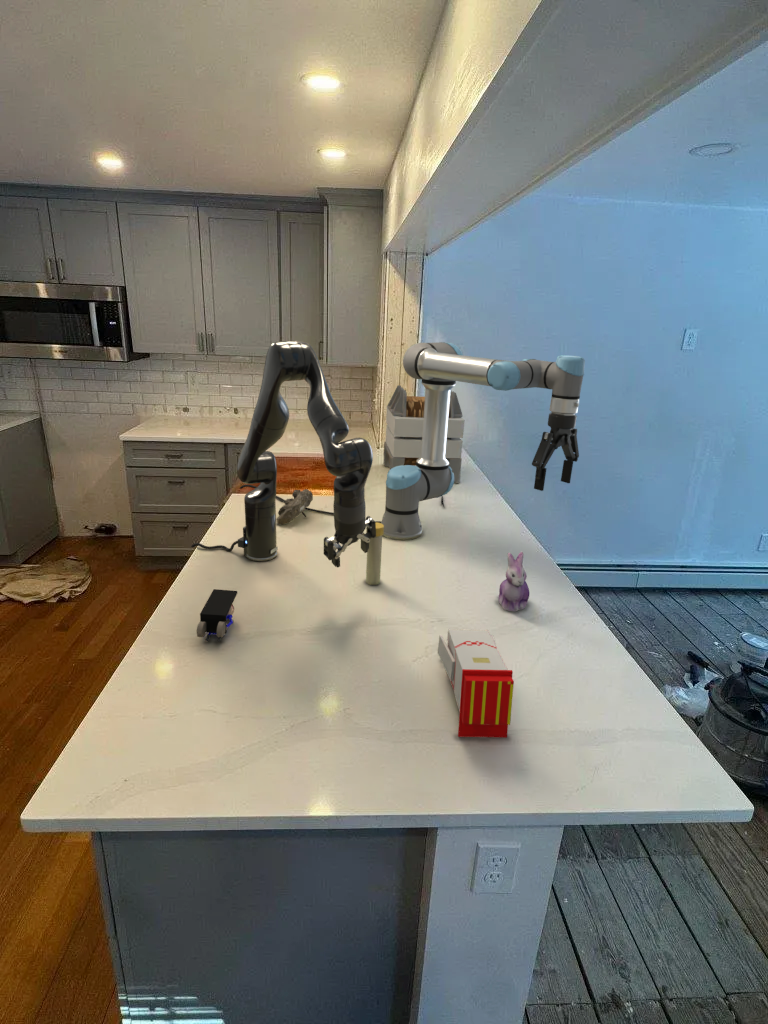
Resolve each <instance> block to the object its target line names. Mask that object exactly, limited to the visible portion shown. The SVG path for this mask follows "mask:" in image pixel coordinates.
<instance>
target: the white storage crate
mask: <svg viewBox="0 0 768 1024" xmlns="http://www.w3.org/2000/svg"><path fill="white" fill-rule="evenodd" d="M407 394H408V393H407V390H406V389H404V388H403V387H402V385H399V384H398V385H397V386H396V388H395V390H394V392H393V394H392V395H391V398H390V400H389V402H388V404H387V405H386V413H385V414H386V415H385V423H386V428H385V438H384V442H383V466H384V467H388V468H389V470H390V469H392V468H394V467H396V466H401V465H404V466H405V465H413V466H416V461H417V459H418V458H420V457H421V449H422V434H423V419H424V404H425V396H415V395H414V396H413V395H412V396H411V395H407ZM464 429H465V419H464V418H463V411H462V408H461V405H460V402H459V398H458V395H457V392H455V391H453V390H451V392H450V404H449V416H448V428H447V441H446V453H445V458H446V459H447V461H448V462H449V466H450V467H451V469H452V473H454V484H455V483H456V484H459V483H461V472H462V461H463V460H462V453H463V442H464V441H463V440H462V439H463V438H464V431H465V430H464Z"/></svg>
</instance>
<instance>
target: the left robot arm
mask: <svg viewBox="0 0 768 1024" xmlns="http://www.w3.org/2000/svg"><path fill="white" fill-rule="evenodd" d="M294 381H305V382H306V383H307V384H308V386H309V396H308V400H307V405H306V410H307V411H306V412H307V413H306V414H307V418H308V419H309V422H310V424H311V425H312V428H313V429H314V432H315V433H316V435H317V436H318V439H319V441H320V445H321V448H322V453H323V460H324V466H325V469H326V470H327V472H329V473H330V474H331V475H332V476H334V477H335V478H334V480H333V504H332V505H333V513H334V515H333V525H334V526H333V527H334V530H335V532H334V535H333V536H331V537H328V536H325V537H324V538H323V555H324V556H325V557H326V558H327V559H328V561H331V564H332V565H333V566H334V567H335V568H340V567H341V557H340V556H341V554H342V553H344V552H345V551H346V549H348V547H349V546H351V545H353V544H355V543H357V542H359V540H360V550H361V551H362V552H363V553H364V554H367V552H368V549H369V542H370V539H371V538H375V537H376V522H375V521H376V520H374V519H373V518H372V517H371V516H370V515H367V516H366V499H365V496H366V495H365V494H366V493H365V486H366V483H367V481H368V477H369V475H370V471H371V469H372V465H373V461H374V453H373V448H372V446H371V444H370V443H369V441H368V440H367V439H365V438H364V437H354V438H351V439H347V440H345V439H346V438H347V437H348V434H349V432H350V428H349V425H348V423H347V420H346V419H345V417H344V416H343V414H342V412H341V410H340V409H339V407H338V405H337V404H336V402H335V400H334V398H333V396H332V393H331V392H330V391H331V390H330V388H329V385H328V383H327V380H326V377H325V374H324V371H323V368H322V366H321V364H320V361H319V358H318V356H317V353H316V352H315V350H314V348H313V347H312V345H311V344H310V343H308V342H307V341H303V340H283V341H280V340H279V341H275V342H274V341H273V343H271V344H270V345H269V347H268V348H267V351H266V355H265V361H264V366H263V372H262V380H261V385H260V390H259V394H258V398H257V401H256V404H255V406H254V410H253V413H252V417H251V422H250V426H249V430H248V433H247V436H246V440H245V442H244V444H243V446H242V449H241V450H240V453H239V455H238V460H237V465H236V473H237V478H238V479H239V481H240V482H241V483H243V484H244V485H253V484H258V486H256V487H257V488H253V489H252V490H250V491H248V492H247V493H246V494H245V495H244V497H243V498H244V499H243V501H244V520H245V522H244V523H245V526H243V527H242V535H243V536H242V537H240V538H237V540H236V541H233V542H232V544H231V546H230V547H227V546H225V545H221V544H218V545H212V546H211V545H210V546H208V545H204V544H203V543H200V542H194V543H193V544H192V545H191V546H190V548H195V547H200V548H201V549H203V550H204V549H205V550H215V549H223V550H224V551H226V552H232V551H233V550H234V548H235V546H236V545H237V547H238V548H242V549H243V556H244V557H246V558H247V559H248V560H250V561H254V562H268V561H271V560H273V559H275V558H276V557H278V550H279V549H278V546H277V510H276V509H277V508H276V506H277V505H276V499H277V498H276V496H277V479H278V478H277V477H278V465H277V460H276V457H275V454H274V453H273V452H272V451H270V450H269V449H270V448H272V447H273V446H274V445H275V444H276V443H278V442H279V441H280V440H281V438H283V436H284V434H285V432H286V429H287V426H288V423H289V421H290V409H289V407H288V404H287V402H286V401H285V399H284V397H283V396H282V394H281V386H282V385H283V384H284V383H285V382H294ZM365 520H366V521H365ZM366 528H367V533H366V532H365V531H366ZM364 532H365V533H364Z"/></svg>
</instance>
